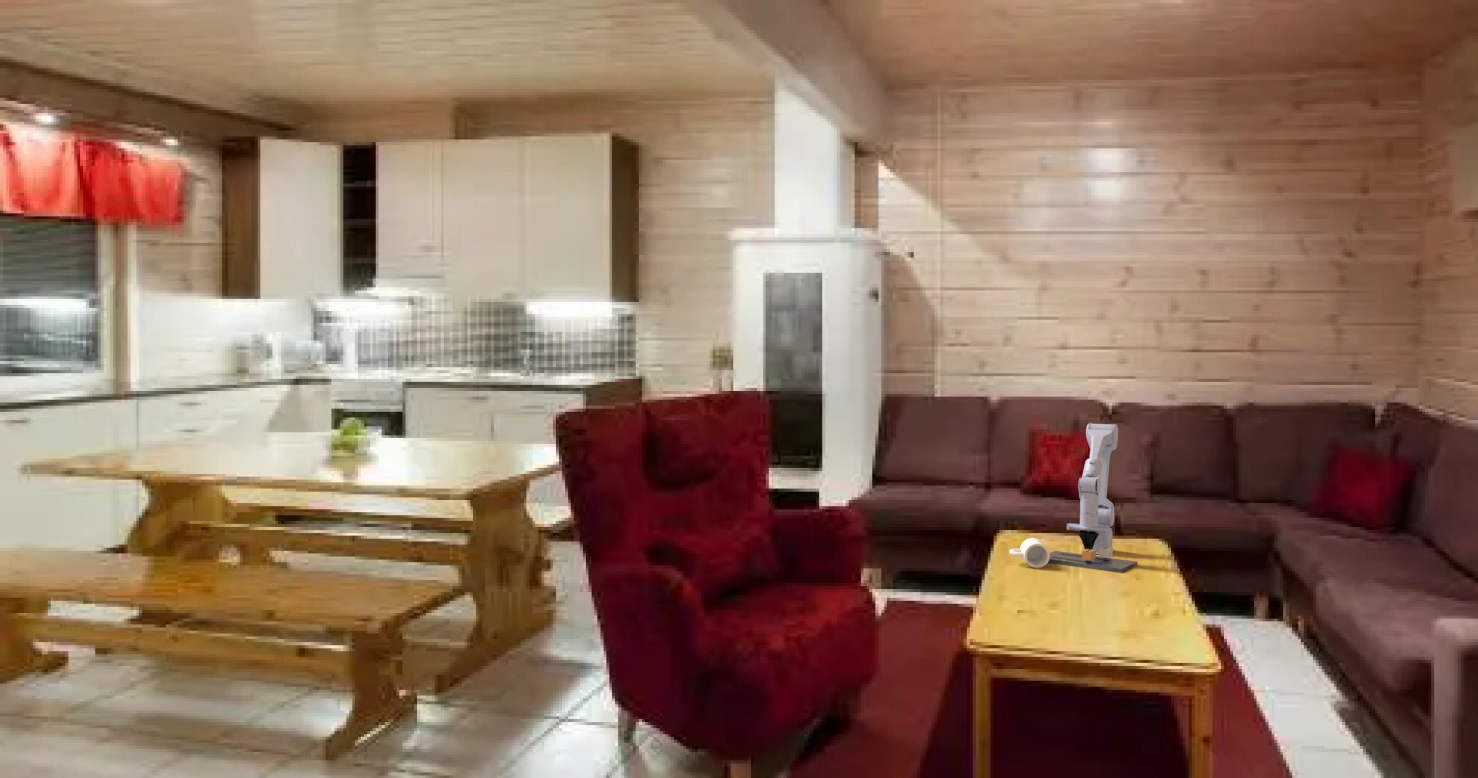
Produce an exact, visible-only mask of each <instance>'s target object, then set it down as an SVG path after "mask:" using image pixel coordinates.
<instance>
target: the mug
mask: <svg viewBox="0 0 1478 778" xmlns="http://www.w3.org/2000/svg"><path fill="white" fill-rule="evenodd" d="M1008 553H1009V554H1010V555H1011V556H1013V557H1019V558H1022V559H1023V560H1024V561H1025V563H1026V564H1027V565H1028V566H1029V567H1031V568H1034V569H1039V568H1040V569H1041V568H1043V567H1045V566H1046V565H1047V564H1048V561H1049V559H1050V553H1051V552H1050V551H1049V549H1048V548H1047V546H1046V545H1045V544H1044V543H1043V542H1042V540H1040V539H1038V538H1035V537H1029V538H1027V539H1025V540H1024V541H1022V543H1021V544H1020V547H1019V548H1010V550H1009V551H1008Z"/></svg>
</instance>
